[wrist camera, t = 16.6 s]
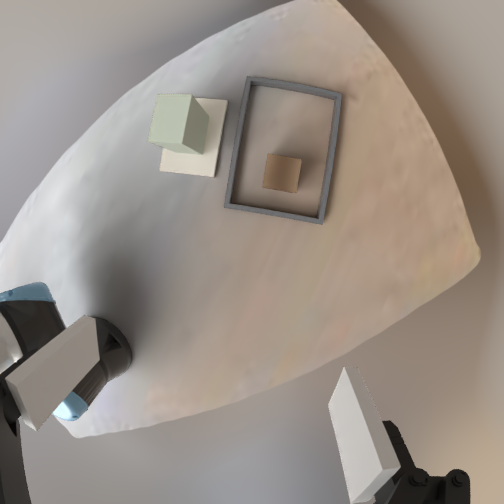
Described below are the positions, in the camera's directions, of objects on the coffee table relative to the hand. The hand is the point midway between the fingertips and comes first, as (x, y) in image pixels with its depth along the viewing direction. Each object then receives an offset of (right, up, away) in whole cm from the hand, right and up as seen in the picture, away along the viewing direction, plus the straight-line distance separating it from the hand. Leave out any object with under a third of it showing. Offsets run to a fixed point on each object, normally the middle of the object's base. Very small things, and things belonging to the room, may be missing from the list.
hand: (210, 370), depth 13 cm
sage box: (-8, +26, +31) cm, 42 cm away
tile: (-8, +26, +32) cm, 42 cm away
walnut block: (+7, +19, +33) cm, 39 cm away
